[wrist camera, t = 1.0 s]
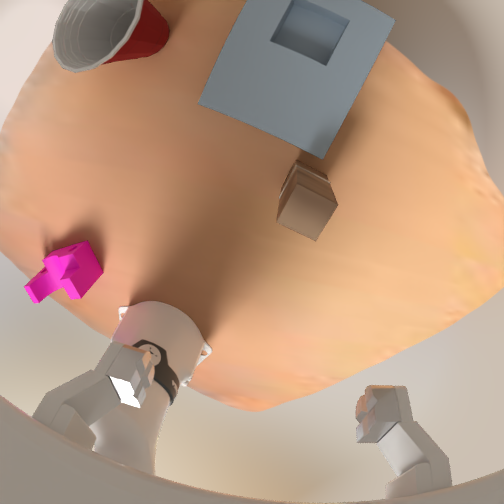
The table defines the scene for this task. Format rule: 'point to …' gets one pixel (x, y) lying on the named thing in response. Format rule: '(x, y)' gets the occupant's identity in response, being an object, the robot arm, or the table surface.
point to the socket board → (296, 67)
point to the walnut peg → (306, 201)
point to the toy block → (66, 272)
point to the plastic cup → (107, 32)
